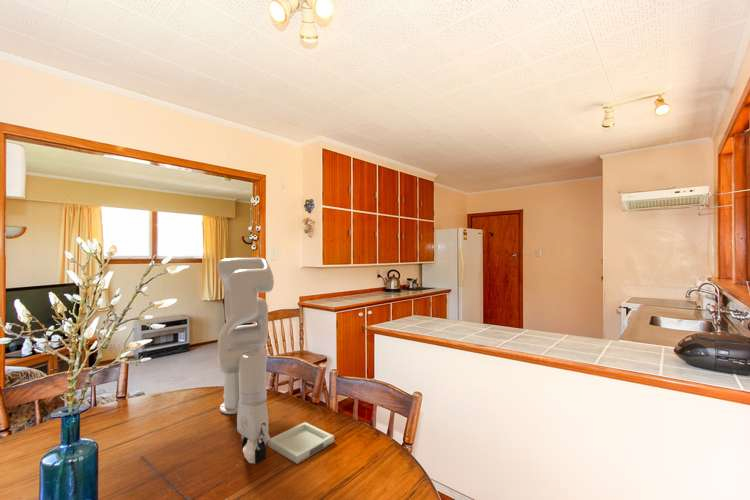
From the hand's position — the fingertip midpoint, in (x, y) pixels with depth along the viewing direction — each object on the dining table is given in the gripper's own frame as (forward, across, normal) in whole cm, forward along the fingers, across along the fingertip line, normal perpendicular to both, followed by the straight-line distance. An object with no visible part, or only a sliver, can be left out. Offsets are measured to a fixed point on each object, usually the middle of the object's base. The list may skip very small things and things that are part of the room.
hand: (254, 456), depth 103 cm
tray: (+1, +4, +14) cm, 15 cm away
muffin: (+1, 0, 0) cm, 1 cm away
